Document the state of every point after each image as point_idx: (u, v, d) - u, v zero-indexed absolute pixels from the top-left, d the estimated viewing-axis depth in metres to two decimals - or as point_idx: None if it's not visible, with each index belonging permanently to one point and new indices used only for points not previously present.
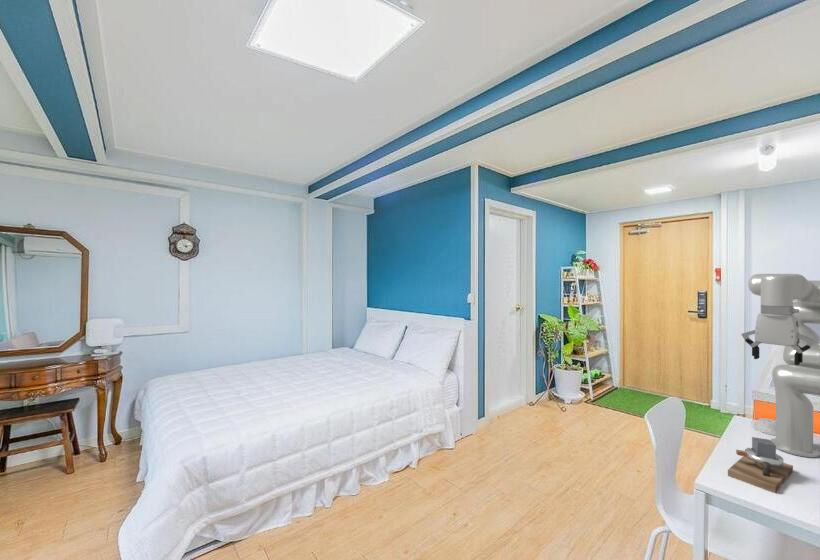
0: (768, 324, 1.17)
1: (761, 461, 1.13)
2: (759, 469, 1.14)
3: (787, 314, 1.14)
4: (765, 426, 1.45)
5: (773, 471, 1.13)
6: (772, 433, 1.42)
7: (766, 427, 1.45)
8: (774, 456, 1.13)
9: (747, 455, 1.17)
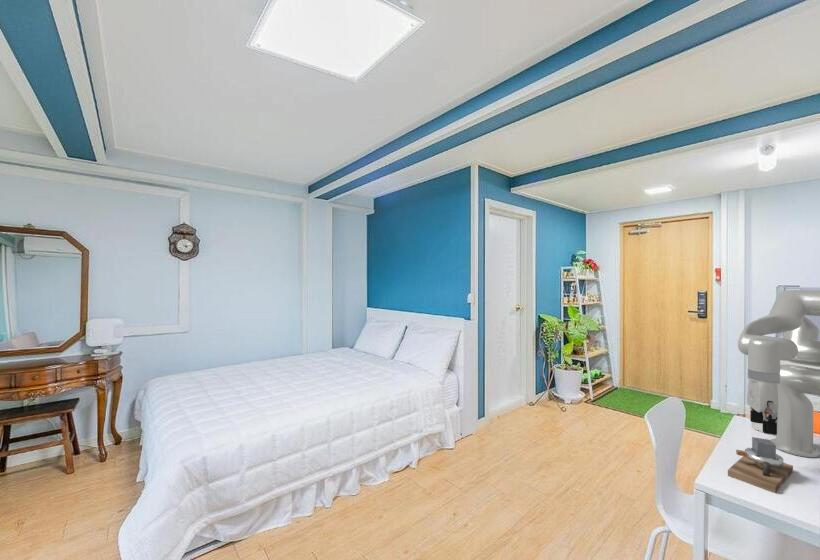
0: None
1: (761, 461, 1.13)
2: (759, 469, 1.14)
3: None
4: None
5: (773, 471, 1.13)
6: None
7: None
8: (774, 456, 1.13)
9: (747, 455, 1.17)
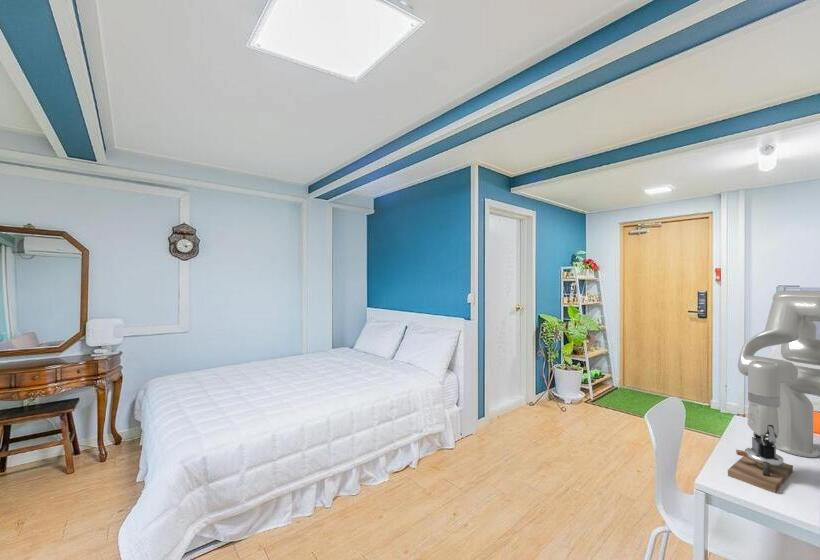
0: None
1: (761, 461, 1.13)
2: (759, 469, 1.14)
3: None
4: None
5: (773, 471, 1.13)
6: None
7: None
8: (774, 456, 1.13)
9: (747, 455, 1.17)
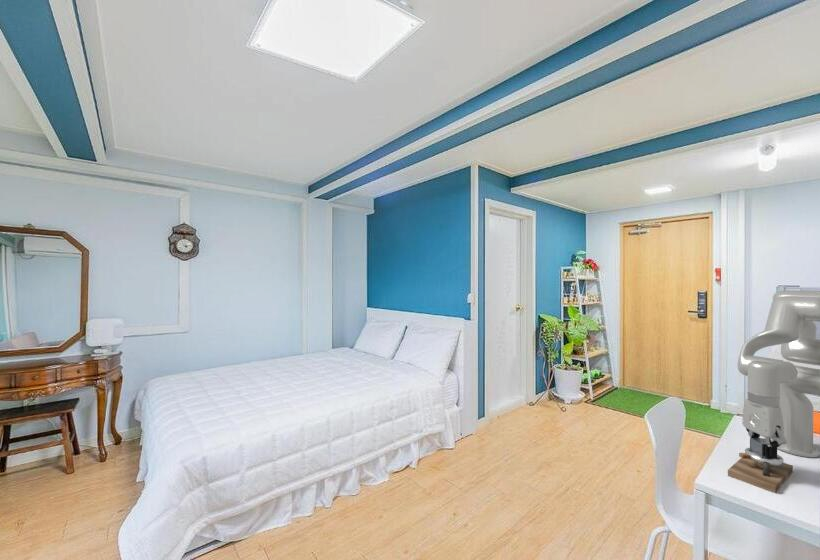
0: None
1: None
2: (759, 469, 1.14)
3: None
4: None
5: (773, 471, 1.13)
6: None
7: None
8: None
9: (751, 457, 1.15)
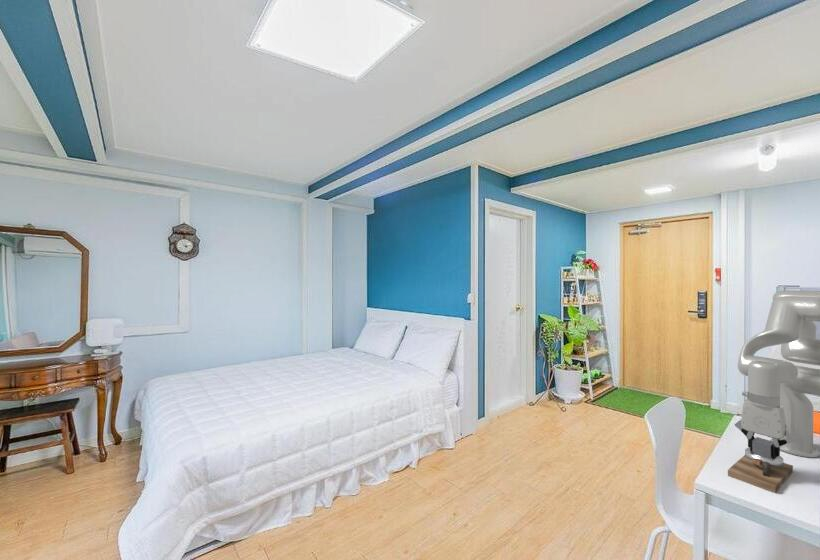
0: None
1: (779, 464, 1.11)
2: (759, 469, 1.14)
3: None
4: None
5: (773, 471, 1.13)
6: None
7: None
8: None
9: None
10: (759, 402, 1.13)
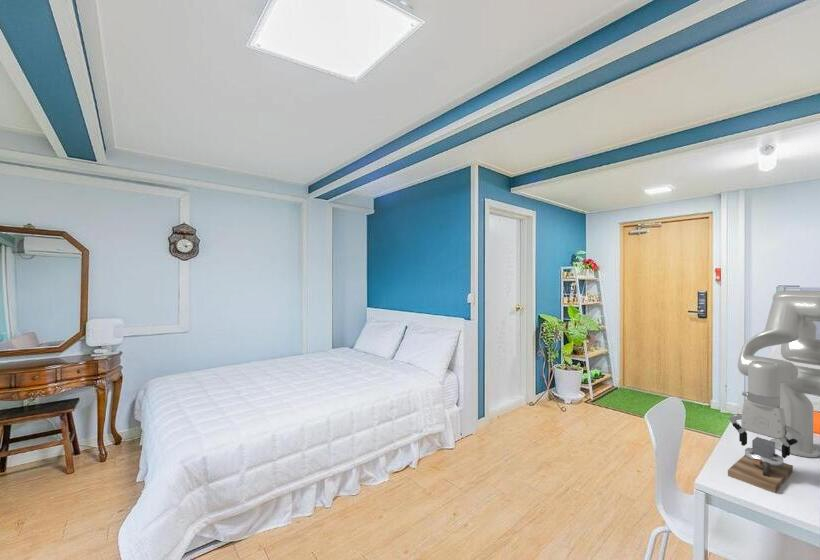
0: None
1: (779, 464, 1.11)
2: (759, 469, 1.14)
3: None
4: None
5: (773, 471, 1.13)
6: None
7: None
8: (774, 453, 1.15)
9: None
10: (759, 402, 1.13)
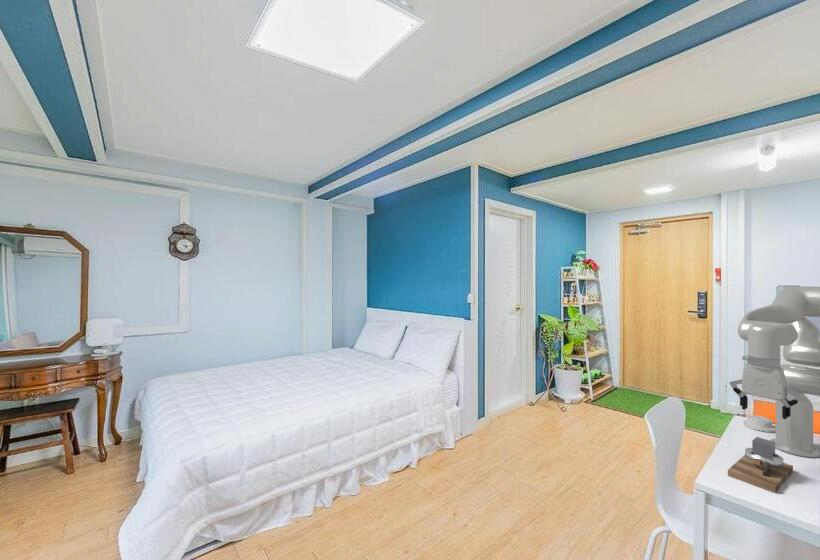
0: None
1: (779, 464, 1.11)
2: (759, 469, 1.14)
3: None
4: (754, 423, 1.48)
5: (773, 471, 1.13)
6: (761, 429, 1.46)
7: (755, 423, 1.48)
8: (774, 453, 1.15)
9: None
10: (759, 365, 1.13)
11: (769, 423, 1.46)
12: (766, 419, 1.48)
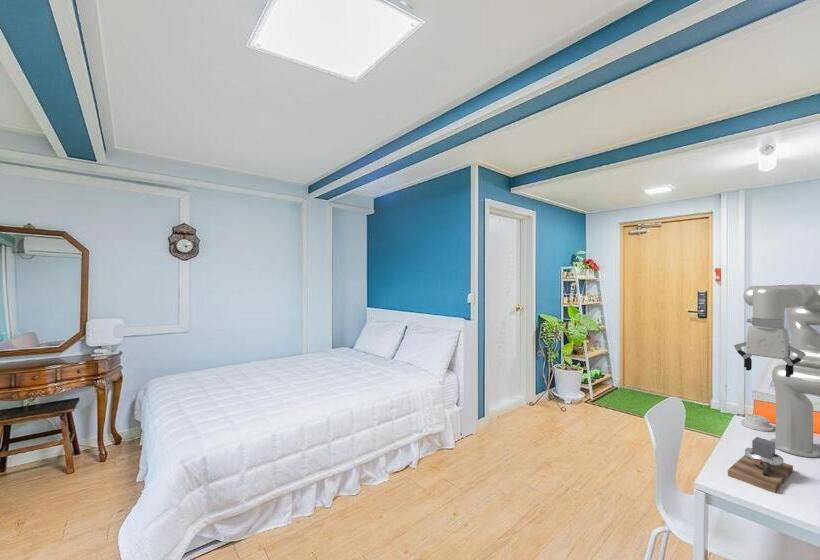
0: None
1: (779, 464, 1.11)
2: (759, 469, 1.14)
3: None
4: (752, 422, 1.49)
5: (773, 471, 1.13)
6: (758, 429, 1.46)
7: (753, 422, 1.49)
8: (774, 453, 1.15)
9: None
10: (764, 325, 1.17)
11: (766, 422, 1.47)
12: (763, 418, 1.49)
